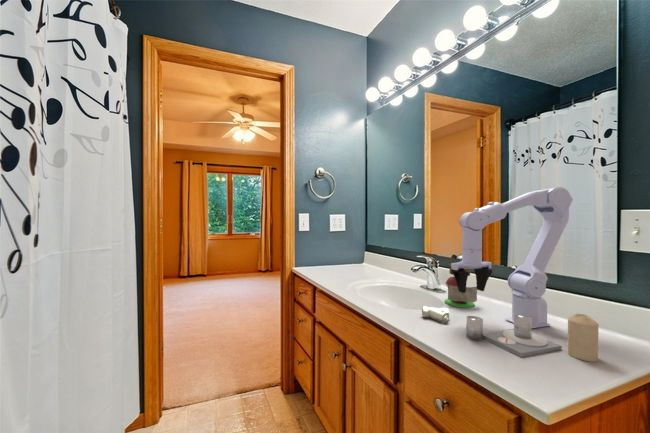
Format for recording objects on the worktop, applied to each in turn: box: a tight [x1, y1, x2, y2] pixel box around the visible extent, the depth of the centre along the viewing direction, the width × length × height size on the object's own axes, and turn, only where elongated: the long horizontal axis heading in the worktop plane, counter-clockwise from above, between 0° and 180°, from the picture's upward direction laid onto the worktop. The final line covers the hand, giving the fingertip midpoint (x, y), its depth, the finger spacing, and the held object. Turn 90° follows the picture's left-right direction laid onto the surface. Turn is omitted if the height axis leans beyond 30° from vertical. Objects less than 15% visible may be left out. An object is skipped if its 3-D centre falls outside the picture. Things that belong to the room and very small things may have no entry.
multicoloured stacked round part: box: [444, 264, 478, 309], centre depth 111 cm, size 12×13×15 cm
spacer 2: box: [513, 314, 533, 339], centre depth 77 cm, size 4×4×6 cm
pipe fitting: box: [421, 306, 450, 324], centre depth 93 cm, size 8×4×7 cm
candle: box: [567, 313, 599, 363], centre depth 69 cm, size 6×6×10 cm
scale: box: [483, 328, 563, 358], centre depth 76 cm, size 14×12×1 cm
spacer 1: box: [465, 315, 484, 342], centre depth 79 cm, size 4×4×6 cm
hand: (471, 291), depth 91 cm, fingers open, 7 cm apart
